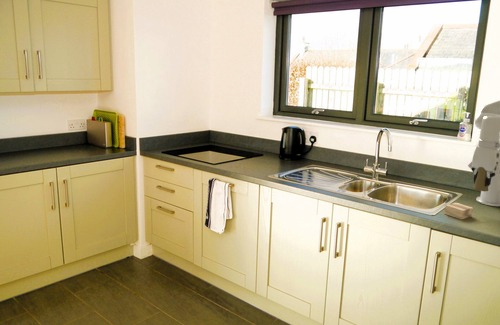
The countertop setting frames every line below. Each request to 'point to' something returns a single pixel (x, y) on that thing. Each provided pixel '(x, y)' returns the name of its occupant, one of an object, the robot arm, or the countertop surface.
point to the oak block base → (458, 210)
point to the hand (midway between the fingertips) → (481, 184)
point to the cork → (481, 180)
